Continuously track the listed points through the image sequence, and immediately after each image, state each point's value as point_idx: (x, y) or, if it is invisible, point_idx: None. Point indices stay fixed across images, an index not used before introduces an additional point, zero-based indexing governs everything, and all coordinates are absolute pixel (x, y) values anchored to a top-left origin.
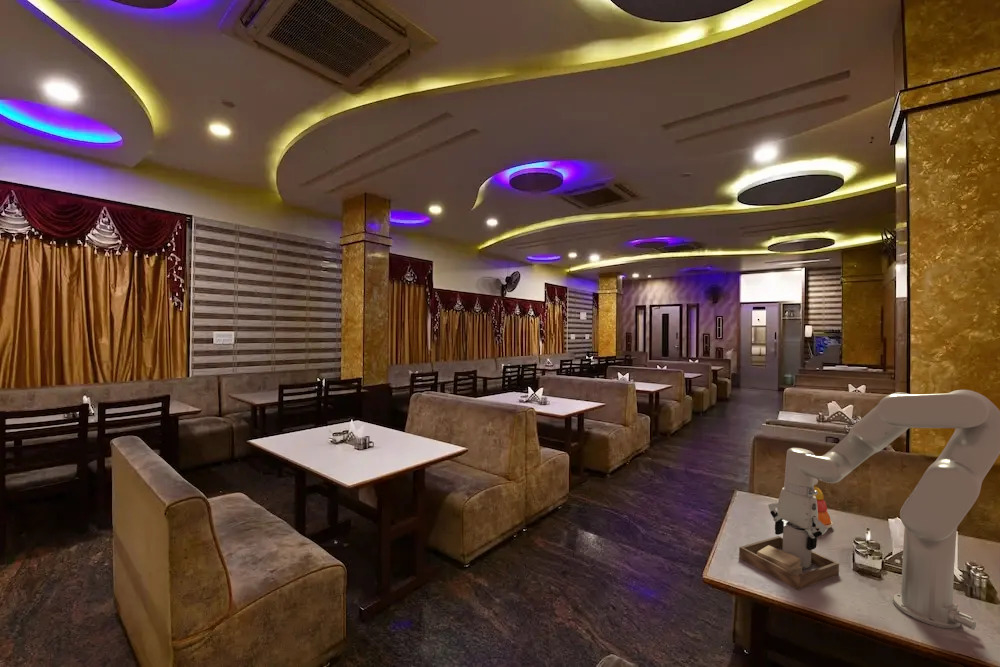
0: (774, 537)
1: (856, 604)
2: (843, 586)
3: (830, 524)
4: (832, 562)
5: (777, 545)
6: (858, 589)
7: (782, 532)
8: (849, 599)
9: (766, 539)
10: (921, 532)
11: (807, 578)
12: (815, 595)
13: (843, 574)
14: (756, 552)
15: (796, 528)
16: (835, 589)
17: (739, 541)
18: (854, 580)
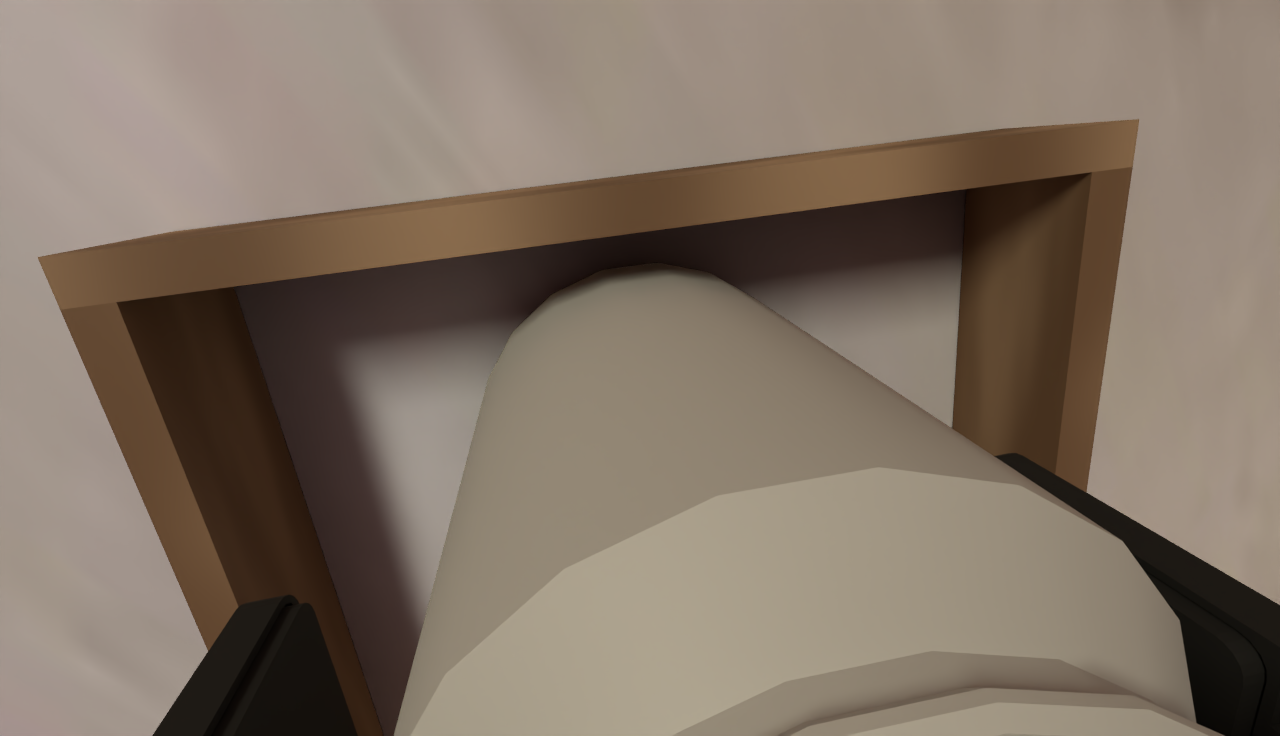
0: (113, 410)
1: (1273, 492)
2: (1122, 329)
3: None
4: (1051, 175)
5: (220, 325)
6: (1225, 222)
7: (305, 632)
8: (1221, 483)
9: (194, 614)
10: None
11: None
12: None
13: (1023, 42)
14: (366, 724)
15: (515, 552)
16: (1101, 461)
17: (4, 679)
18: (1145, 52)
